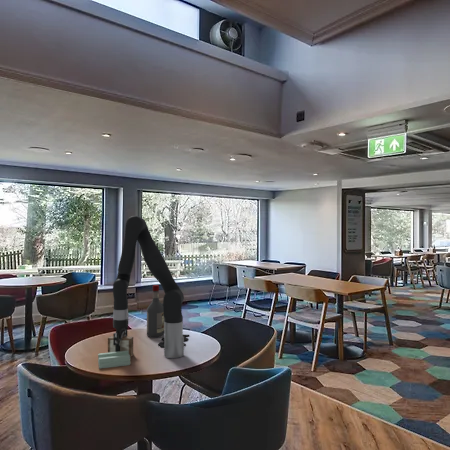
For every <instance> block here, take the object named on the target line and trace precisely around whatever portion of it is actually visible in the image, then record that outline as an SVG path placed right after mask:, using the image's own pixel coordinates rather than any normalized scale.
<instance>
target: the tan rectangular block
mask: <svg viewBox="0 0 450 450" xmlns="http://www.w3.org/2000/svg"><path fill="white" fill-rule="evenodd" d="M120 351H129V355H130V358H131V357H132V356H133V355H134V336H127V337H123V338H122V341H121V343H120ZM109 352H115V345H113V335H110V336H109V337H107V353H109Z"/></svg>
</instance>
